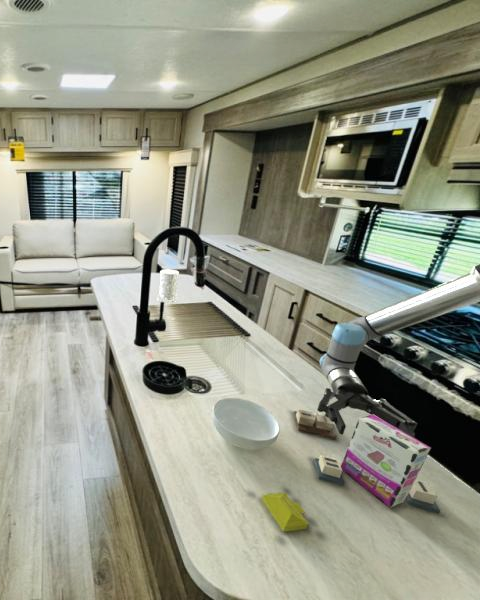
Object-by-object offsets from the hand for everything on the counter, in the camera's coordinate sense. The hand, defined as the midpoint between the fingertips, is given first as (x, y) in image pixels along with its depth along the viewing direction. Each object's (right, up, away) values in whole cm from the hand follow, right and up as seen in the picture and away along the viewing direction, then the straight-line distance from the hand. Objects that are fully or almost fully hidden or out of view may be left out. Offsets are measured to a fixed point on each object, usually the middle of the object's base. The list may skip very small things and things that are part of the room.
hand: (377, 437), depth 75 cm
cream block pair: (-2, -4, +18) cm, 19 cm away
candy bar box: (-2, -11, 0) cm, 12 cm away
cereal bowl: (-25, -6, +15) cm, 30 cm away
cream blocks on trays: (-2, -11, 0) cm, 12 cm away
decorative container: (-18, +34, +117) cm, 123 cm away
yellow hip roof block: (-26, -14, -6) cm, 31 cm away
